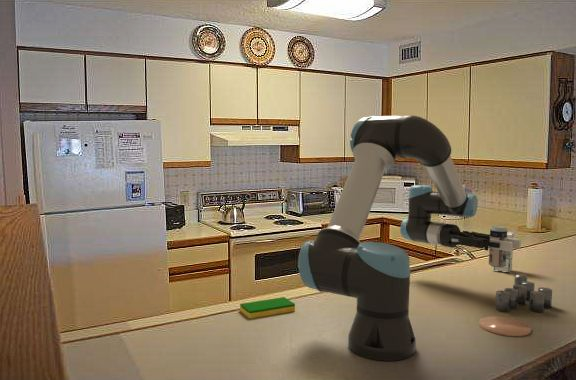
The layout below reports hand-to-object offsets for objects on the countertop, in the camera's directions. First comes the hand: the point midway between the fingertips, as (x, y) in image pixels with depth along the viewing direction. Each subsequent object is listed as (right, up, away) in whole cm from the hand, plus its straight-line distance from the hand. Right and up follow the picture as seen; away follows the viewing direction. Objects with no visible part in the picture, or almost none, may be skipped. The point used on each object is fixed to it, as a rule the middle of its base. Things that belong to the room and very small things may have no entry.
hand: (515, 245), depth 143 cm
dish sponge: (-72, -18, -7) cm, 75 cm away
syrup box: (+12, -14, +37) cm, 41 cm away
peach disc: (-12, -19, -19) cm, 29 cm away
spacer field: (+2, -17, +1) cm, 17 cm away
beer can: (-4, -7, +5) cm, 9 cm away
